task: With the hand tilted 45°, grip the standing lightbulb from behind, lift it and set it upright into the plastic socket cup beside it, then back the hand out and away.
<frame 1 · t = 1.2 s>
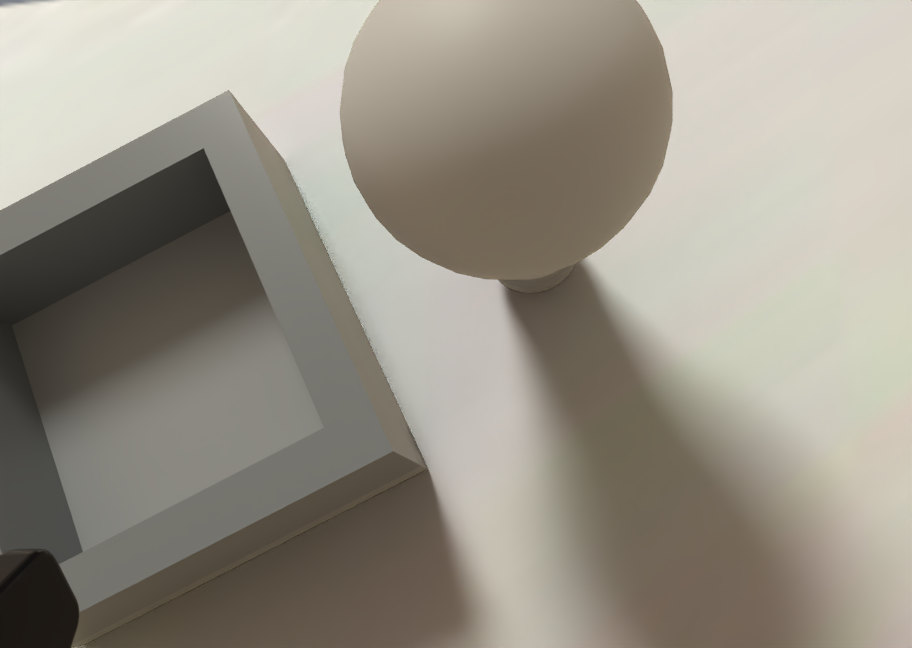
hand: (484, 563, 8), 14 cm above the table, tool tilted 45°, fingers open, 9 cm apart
socket: (190, 387, 24), on the table
lightbulb: (534, 261, 23), on the table
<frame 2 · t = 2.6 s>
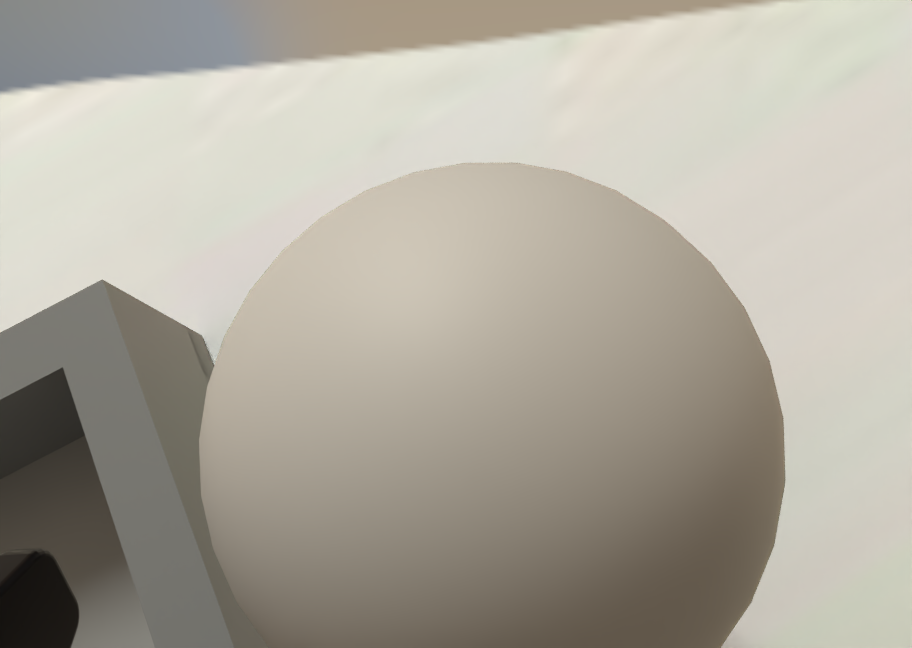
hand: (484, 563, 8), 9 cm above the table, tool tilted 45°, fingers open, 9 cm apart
lightbulb: (537, 495, 17), on the table
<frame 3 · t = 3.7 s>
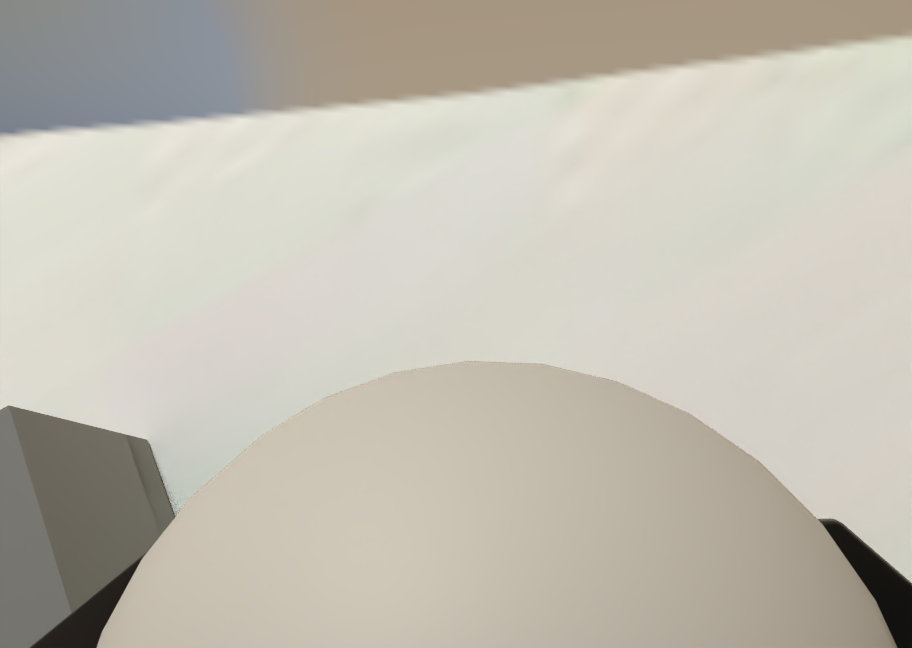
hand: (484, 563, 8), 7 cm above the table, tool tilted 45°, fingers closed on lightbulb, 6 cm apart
lightbulb: (538, 644, 14), on the table, touching gripper
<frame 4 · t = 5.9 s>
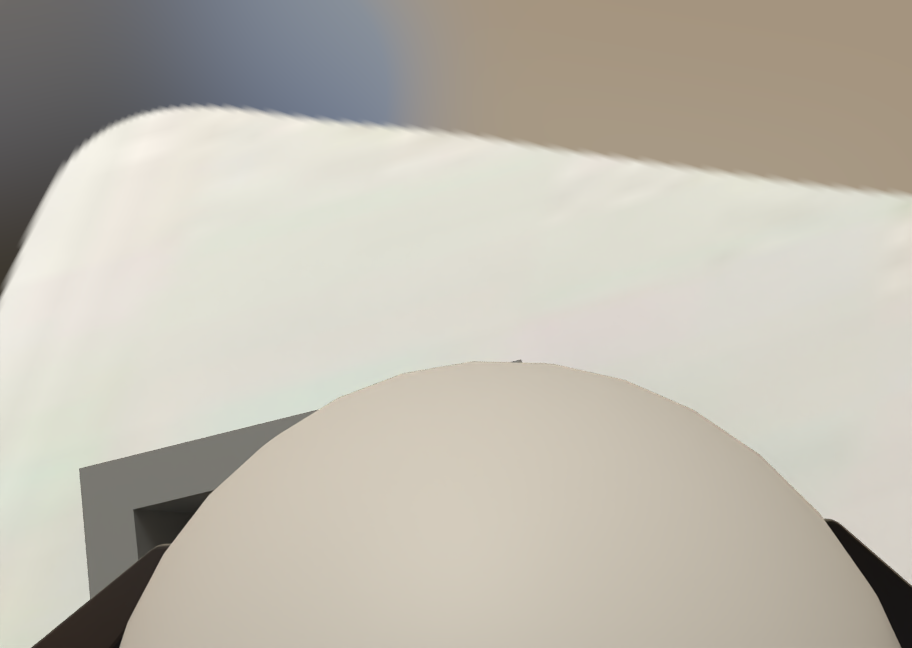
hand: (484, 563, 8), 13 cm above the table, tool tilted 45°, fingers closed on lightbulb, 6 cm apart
socket: (381, 638, 21), on the table
lightbulb: (574, 635, 14), point 6 cm above the table, touching gripper
when the fingers open (9 cm above the table, at t = 7.8 s): lightbulb drops 1 cm, resting on socket.
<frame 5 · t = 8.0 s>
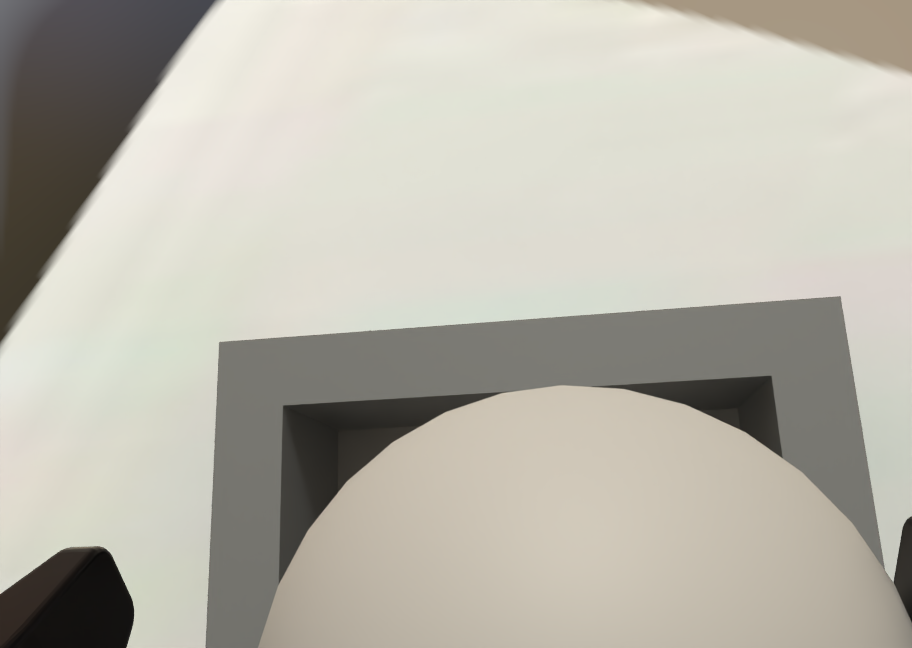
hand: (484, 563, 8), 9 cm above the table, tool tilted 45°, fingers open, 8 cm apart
socket: (545, 627, 16), on the table
lightbulb: (582, 632, 16), point 1 cm above the table, touching socket
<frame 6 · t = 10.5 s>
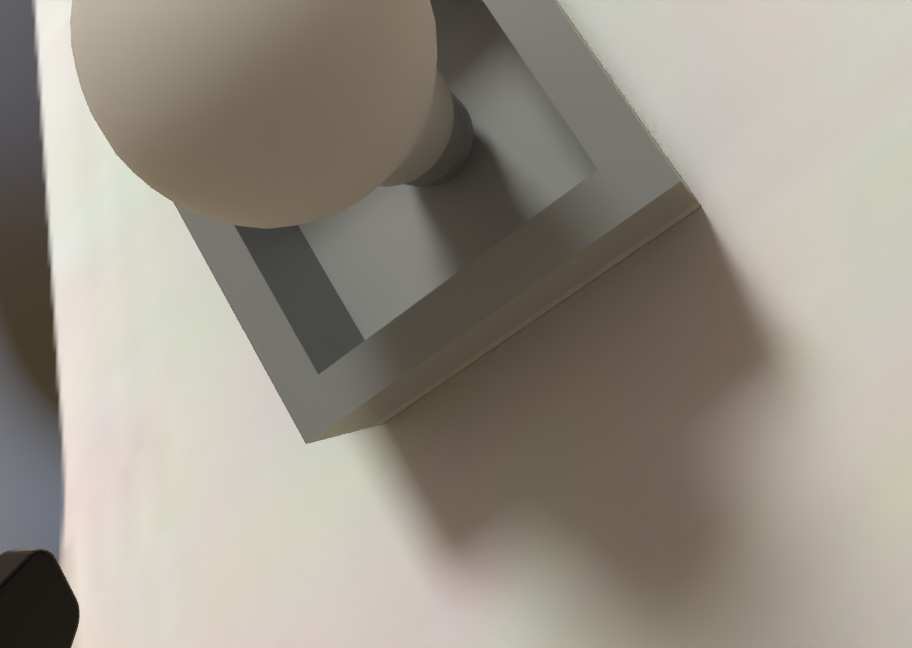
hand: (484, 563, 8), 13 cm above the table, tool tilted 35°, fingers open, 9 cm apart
socket: (430, 165, 23), on the table
lightbulb: (442, 146, 22), point 1 cm above the table, touching socket
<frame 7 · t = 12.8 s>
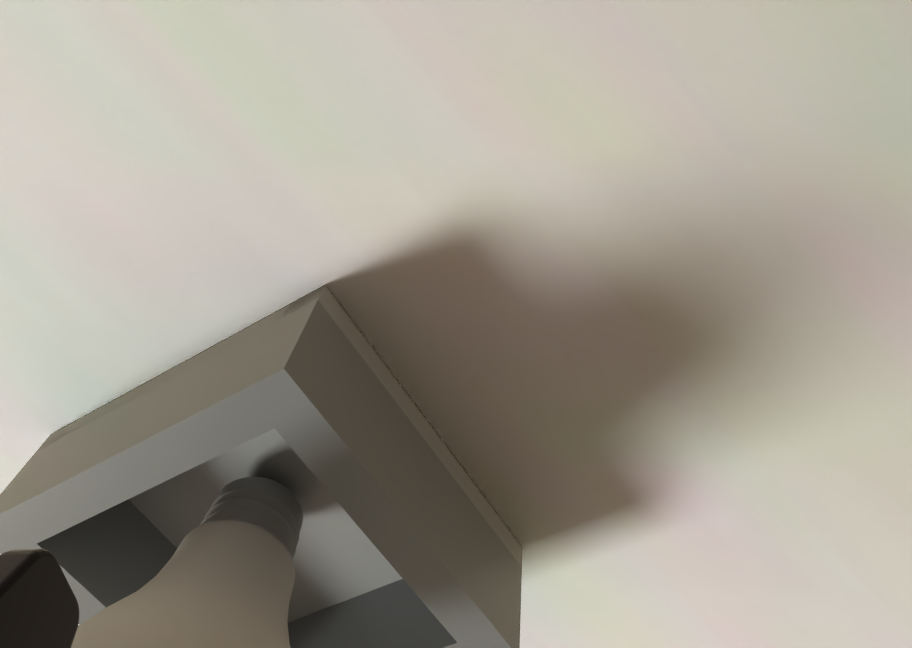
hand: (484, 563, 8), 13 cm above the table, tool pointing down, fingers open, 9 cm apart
socket: (289, 491, 25), on the table
lightbulb: (269, 487, 24), point 1 cm above the table, touching socket
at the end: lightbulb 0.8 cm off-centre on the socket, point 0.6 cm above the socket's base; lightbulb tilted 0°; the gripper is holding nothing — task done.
